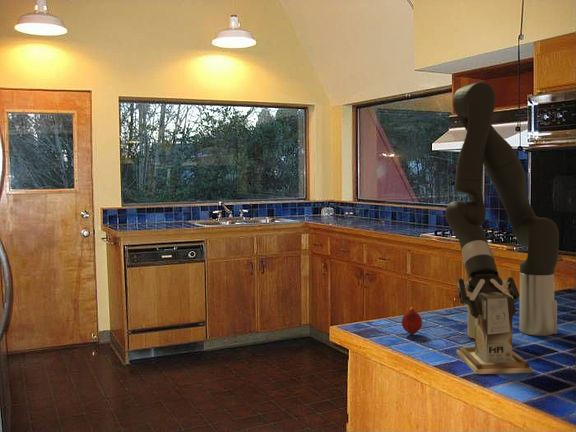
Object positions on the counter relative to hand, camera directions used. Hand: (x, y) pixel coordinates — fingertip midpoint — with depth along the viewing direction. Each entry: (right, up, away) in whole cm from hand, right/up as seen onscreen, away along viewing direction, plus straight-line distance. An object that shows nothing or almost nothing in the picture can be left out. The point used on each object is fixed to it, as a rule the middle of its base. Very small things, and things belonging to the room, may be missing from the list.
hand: (494, 316), depth 148 cm
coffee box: (0, -11, +2) cm, 11 cm away
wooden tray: (0, -12, +2) cm, 12 cm away
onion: (-14, -10, +29) cm, 34 cm away
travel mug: (+5, -10, +25) cm, 27 cm away
